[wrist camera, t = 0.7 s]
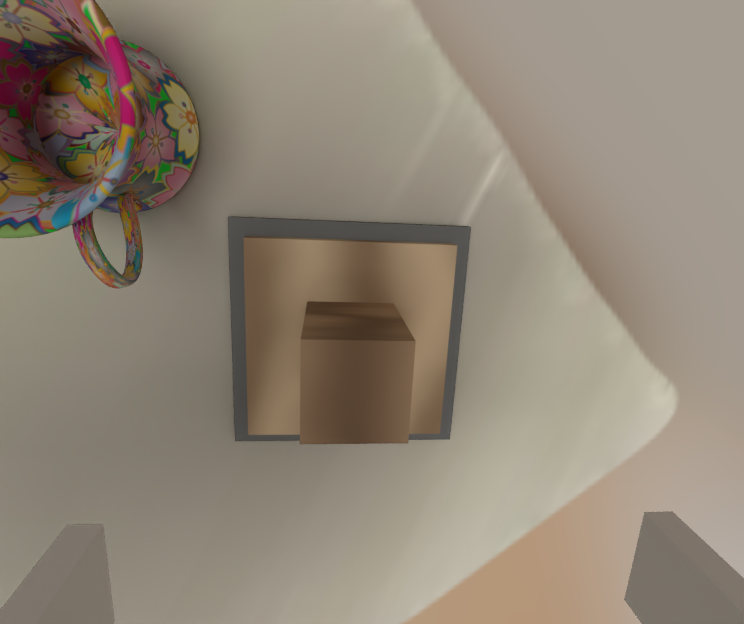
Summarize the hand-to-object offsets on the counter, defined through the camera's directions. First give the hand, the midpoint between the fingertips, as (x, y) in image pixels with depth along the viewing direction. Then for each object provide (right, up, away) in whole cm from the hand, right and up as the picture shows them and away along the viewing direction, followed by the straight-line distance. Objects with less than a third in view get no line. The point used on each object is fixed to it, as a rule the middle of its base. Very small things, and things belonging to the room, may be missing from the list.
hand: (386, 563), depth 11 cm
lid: (-2, +5, +17) cm, 18 cm away
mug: (-13, +15, +14) cm, 24 cm away
